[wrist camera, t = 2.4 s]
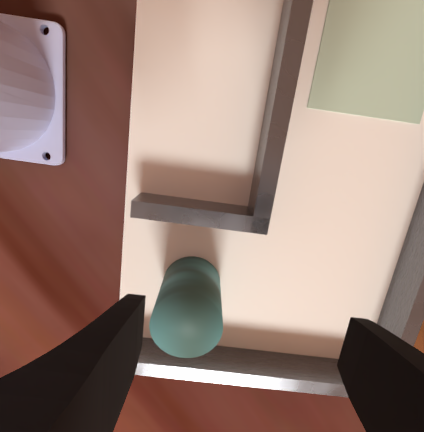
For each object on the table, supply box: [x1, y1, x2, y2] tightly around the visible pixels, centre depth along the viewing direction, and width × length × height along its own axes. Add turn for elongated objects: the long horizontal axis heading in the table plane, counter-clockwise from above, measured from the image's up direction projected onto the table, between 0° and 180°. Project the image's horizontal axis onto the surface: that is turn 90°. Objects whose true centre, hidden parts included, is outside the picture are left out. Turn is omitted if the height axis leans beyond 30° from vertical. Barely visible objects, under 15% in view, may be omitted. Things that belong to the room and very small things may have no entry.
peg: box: [149, 256, 223, 358], centre depth 18 cm, size 4×4×5 cm
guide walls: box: [130, 0, 424, 397], centre depth 18 cm, size 19×26×2 cm
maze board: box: [120, 0, 424, 359], centre depth 19 cm, size 20×28×1 cm
